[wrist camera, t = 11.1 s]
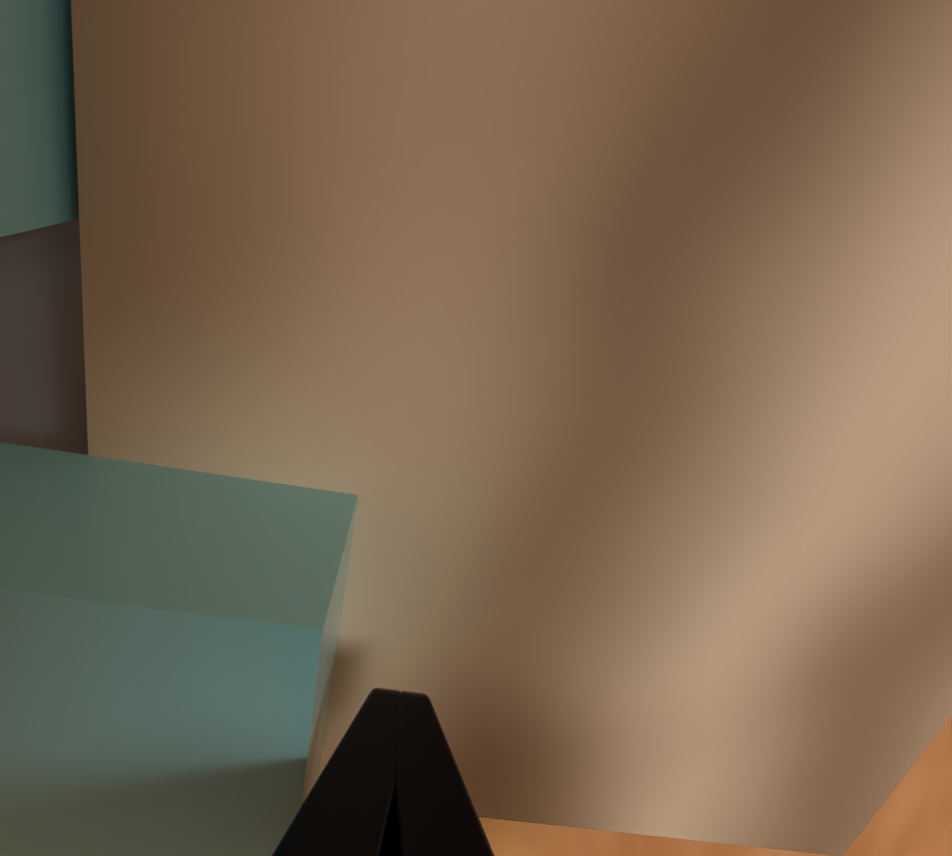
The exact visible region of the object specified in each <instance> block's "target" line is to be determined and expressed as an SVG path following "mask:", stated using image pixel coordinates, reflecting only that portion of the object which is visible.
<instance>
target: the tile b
mask: <svg viewBox="0 0 952 856" xmlns="http://www.w3.org/2000/svg"><path fill="white" fill-rule="evenodd" d="M357 498H358V495H354V494H347V493H341V492H334V491H327V490H320V489H314V488H307V487H300V486H293V485H287V484H280V483H273V482H267V481H260V480H253V479H246V478H240V477H233V476H226V475H219V474H213V473H206V472H199V471H192V470H186V469H179V468H172V467H165V466H159V465H152V464H145V463H138V462H131V461H125V460H118V459H111V458H104V457H97V456H91V455H84V454H78V453H71V452H64V451H57V450H51V449H44V448H37V447H31V446H24V445H17V444H10V443H4V442H0V856H272V854H273V853H274V851H275V849H276V848H277V846H278V844H279V843H280V841H281V839H282V838H283V836H284V834H285V833H286V831H287V829H288V828H289V826H290V824H291V823H292V821H293V819H294V818H295V816H296V814H297V813H298V811H299V809H300V808H301V806H302V804H303V803H304V801H305V799H306V798H307V796H308V794H309V793H310V791H311V789H312V788H313V786H314V784H315V783H316V780H317V775H318V770H319V766H320V761H321V756H322V751H323V746H324V739H325V732H326V724H327V717H328V710H329V703H330V695H331V688H332V681H333V673H334V666H335V659H336V651H337V644H338V637H339V630H340V622H341V615H342V608H343V600H344V593H345V586H346V578H347V571H348V564H349V557H350V549H351V542H352V535H353V527H354V520H355V513H356V505H357Z"/></svg>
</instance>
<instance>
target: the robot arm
mask: <svg viewBox="0 0 952 856" xmlns="http://www.w3.org/2000/svg"><path fill="white" fill-rule="evenodd" d="M272 856H494V854H493V852H492V849H491V847H490V844H489V842H488V839H487V837H486V834H485V832H484V830H483V827H482V825H481V822H480V820H479V817H478V815H477V813H476V810H475V808H474V805H473V803H472V800H471V798H470V795H469V793H468V791H467V788H466V786H465V783H464V781H463V778H462V776H461V773H460V771H459V769H458V766H457V764H456V761H455V759H454V756H453V754H452V751H451V749H450V747H449V744H448V742H447V739H446V737H445V734H444V732H443V729H442V727H441V725H440V722H439V720H438V717H437V715H436V712H435V710H434V707H433V705H432V703H431V700H430V698H429V697H428V696H427V695H426V694H423V693H416V692H408V691H401V692H400V691H398V690H393V689H385V688H374V689H373V690H371V692H370V693H369V695H368V696H367V698H366V700H365V701H364V703H363V705H362V706H361V708H360V710H359V711H358V713H357V715H356V716H355V718H354V720H353V721H352V723H351V725H350V726H349V728H348V730H347V731H346V733H345V735H344V736H343V738H342V740H341V741H340V743H339V745H338V746H337V748H336V750H335V751H334V753H333V755H332V756H331V758H330V760H329V761H328V763H327V764H326V766H325V768H324V769H323V771H322V773H321V774H320V776H319V778H318V779H317V781H316V783H315V784H314V786H313V788H312V789H311V791H310V793H309V794H308V796H307V798H306V799H305V801H304V803H303V804H302V806H301V808H300V809H299V811H298V813H297V814H296V816H295V818H294V819H293V821H292V823H291V824H290V826H289V828H288V829H287V831H286V833H285V834H284V836H283V838H282V839H281V841H280V843H279V844H278V846H277V848H276V849H275V851H274V853H273V854H272Z"/></svg>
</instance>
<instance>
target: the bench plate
mask: <svg viewBox="0 0 952 856" xmlns="http://www.w3.org/2000/svg"><path fill="white" fill-rule="evenodd" d="M71 16H72V42H73V68H74V95H75V121H76V147H77V173H78V199H79V225H80V252H81V278H82V304H83V330H84V356H85V383H86V409H87V435H88V455H91V456H97V457H104V458H111V459H118V460H125V461H131V462H138V463H145V464H152V465H159V466H165V467H172V468H179V469H186V470H192V471H199V472H206V473H213V474H219V475H226V476H233V477H240V478H246V479H253V480H260V481H267V482H273V483H280V484H287V485H293V486H300V487H307V488H314V489H320V490H327V491H334V492H341V493H347V494H354V495H358V498H357V505H356V513H355V520H354V527H353V535H352V542H351V549H350V557H349V564H348V571H347V578H346V586H345V593H344V600H343V608H342V615H341V622H340V630H339V637H338V644H337V651H336V659H335V666H334V673H333V681H332V688H331V695H330V703H329V710H328V717H327V724H326V732H325V739H324V746H323V751H322V756H321V761H320V766H319V770H318V775H317V779H318V778H319V776H320V774H321V773H322V771H323V769H324V768H325V766H326V764H327V763H328V761H329V760H330V758H331V756H332V755H333V753H334V751H335V750H336V748H337V746H338V745H339V743H340V741H341V740H342V738H343V736H344V735H345V733H346V731H347V730H348V728H349V726H350V725H351V723H352V721H353V720H354V718H355V716H356V715H357V713H358V711H359V710H360V708H361V706H362V705H363V703H364V701H365V700H366V698H367V696H368V695H369V693H370V692H371V690H373V689H374V688H385V689H393V690H398V691H400V692H401V691H408V692H416V693H423V694H426V695H427V696H428V697H429V698H430V700H431V703H432V705H433V707H434V710H435V712H436V715H437V717H438V720H439V722H440V725H441V727H442V729H443V732H444V734H445V737H446V739H447V742H448V744H449V747H450V749H451V751H452V754H453V756H454V759H455V761H456V764H457V766H458V769H459V771H460V773H461V776H462V778H463V781H464V783H465V786H466V788H467V791H468V793H469V795H470V798H471V800H472V803H473V805H474V808H475V810H476V813H477V815H478V817H485V818H494V819H503V820H512V821H522V822H531V823H540V824H549V825H559V826H568V827H577V828H586V829H595V830H605V831H614V832H623V833H632V834H642V835H651V836H660V837H669V838H679V839H688V840H697V841H706V842H715V843H725V844H734V845H743V846H752V847H762V848H771V849H780V850H789V851H799V852H808V853H817V854H826V855H835V856H843V854H844V853H845V852H846V851H847V849H848V848H849V847H850V845H851V844H852V843H853V842H854V840H855V839H856V838H857V836H858V835H859V834H860V833H861V831H862V830H863V829H864V827H865V826H866V825H867V824H868V822H869V821H870V820H871V818H872V817H873V816H874V815H875V813H876V812H877V811H878V809H879V808H880V807H881V806H882V804H883V803H884V802H885V800H886V799H887V798H888V797H889V795H890V794H891V793H892V791H893V790H894V789H895V788H896V786H897V785H898V784H899V782H900V781H901V780H902V779H903V777H904V776H905V775H906V773H907V772H908V771H909V770H910V768H911V767H912V766H913V764H914V763H915V762H916V761H917V759H918V758H919V757H920V755H921V754H922V753H923V751H924V750H925V749H926V748H927V746H928V745H929V744H930V742H931V741H932V740H933V739H934V737H935V736H936V735H937V733H938V732H939V731H940V730H941V728H942V727H943V726H944V724H945V723H946V722H947V721H948V719H949V718H950V717H951V715H952V0H71ZM316 781H317V780H316Z"/></svg>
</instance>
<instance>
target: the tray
mask: <svg viewBox="0 0 952 856" xmlns="http://www.w3.org/2000/svg"><path fill="white" fill-rule="evenodd" d="M0 442H4V443H10V444H17V445H24V446H31V447H37V448H44V449H51V450H57V451H64V452H71V453H78V454H84V455H88V435H87V409H86V383H85V356H84V330H83V304H82V278H81V252H80V225H79V219H77V220H73V221H68V222H64V223H60V224H55V225H51V226H47V227H42V228H38V229H34V230H29V231H25V232H21V233H16V234H12V235H8V236H3V237H0Z"/></svg>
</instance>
